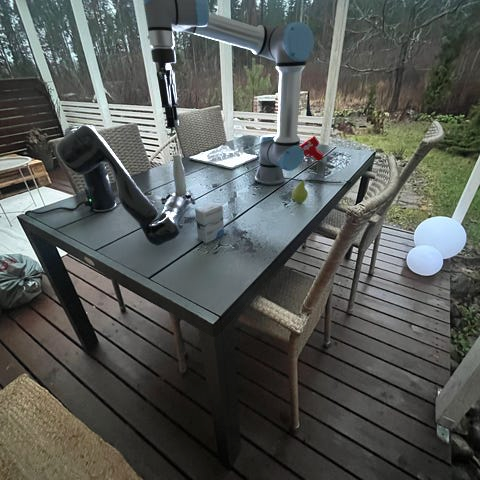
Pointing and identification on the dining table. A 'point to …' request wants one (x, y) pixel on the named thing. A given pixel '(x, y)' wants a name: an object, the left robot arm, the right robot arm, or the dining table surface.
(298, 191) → the fruit
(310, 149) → the toy gun
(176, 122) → the cap
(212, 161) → the relief map
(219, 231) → the ink box
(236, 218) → the dining table surface
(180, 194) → the bottle
